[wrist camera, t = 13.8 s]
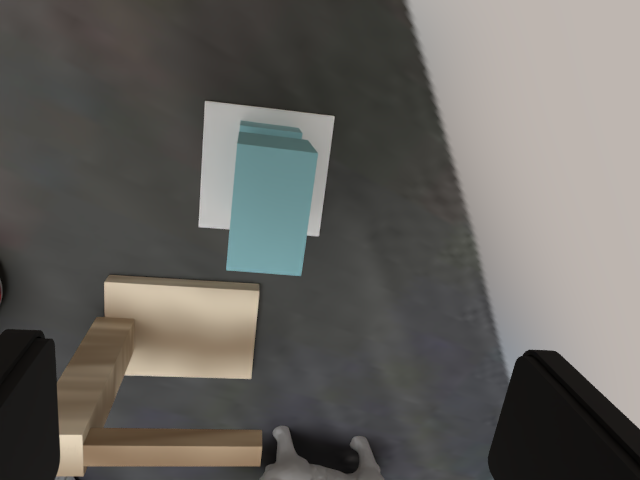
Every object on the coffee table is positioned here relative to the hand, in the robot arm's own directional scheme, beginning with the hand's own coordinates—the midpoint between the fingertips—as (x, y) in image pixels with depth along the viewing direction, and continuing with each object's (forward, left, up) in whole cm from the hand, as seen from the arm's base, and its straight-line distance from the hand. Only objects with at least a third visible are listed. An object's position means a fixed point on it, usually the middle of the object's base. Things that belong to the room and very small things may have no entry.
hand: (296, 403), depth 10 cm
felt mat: (0, 0, -24) cm, 24 cm away
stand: (+12, -4, -24) cm, 27 cm away
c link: (0, 0, -23) cm, 23 cm away
